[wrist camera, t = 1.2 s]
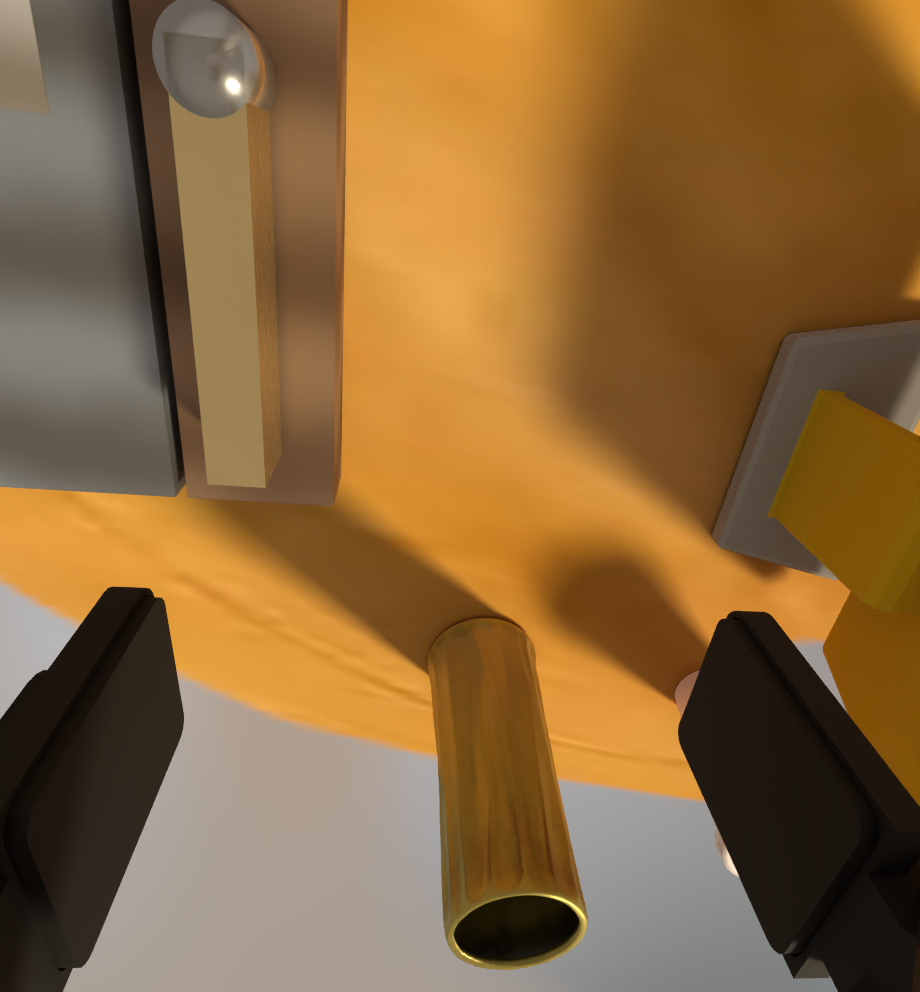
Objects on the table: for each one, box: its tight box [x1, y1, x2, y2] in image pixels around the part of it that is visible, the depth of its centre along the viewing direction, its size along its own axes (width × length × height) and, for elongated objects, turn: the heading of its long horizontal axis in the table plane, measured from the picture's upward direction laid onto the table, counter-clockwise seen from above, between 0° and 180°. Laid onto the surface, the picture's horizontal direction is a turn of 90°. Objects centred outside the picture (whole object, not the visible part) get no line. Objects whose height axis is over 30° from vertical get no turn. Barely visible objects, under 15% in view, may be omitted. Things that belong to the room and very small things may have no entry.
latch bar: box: [152, 0, 282, 488], centre depth 20 cm, size 14×3×3 cm, turn 174°
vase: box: [427, 618, 588, 970], centre depth 28 cm, size 6×6×14 cm
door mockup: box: [0, 0, 348, 506], centre depth 22 cm, size 19×17×3 cm
